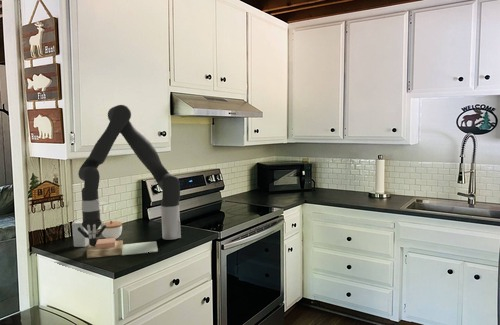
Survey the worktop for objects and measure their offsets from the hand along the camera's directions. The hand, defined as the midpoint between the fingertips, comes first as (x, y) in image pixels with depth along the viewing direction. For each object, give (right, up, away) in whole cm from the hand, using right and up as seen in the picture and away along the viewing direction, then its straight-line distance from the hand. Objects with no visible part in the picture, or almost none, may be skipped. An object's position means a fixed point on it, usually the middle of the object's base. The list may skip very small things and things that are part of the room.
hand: (93, 245), depth 183 cm
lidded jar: (0, -1, +25) cm, 25 cm away
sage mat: (+20, -2, +6) cm, 21 cm away
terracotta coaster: (+5, +1, +2) cm, 6 cm away
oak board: (+5, -3, +2) cm, 6 cm away
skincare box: (-11, -3, +12) cm, 17 cm away
